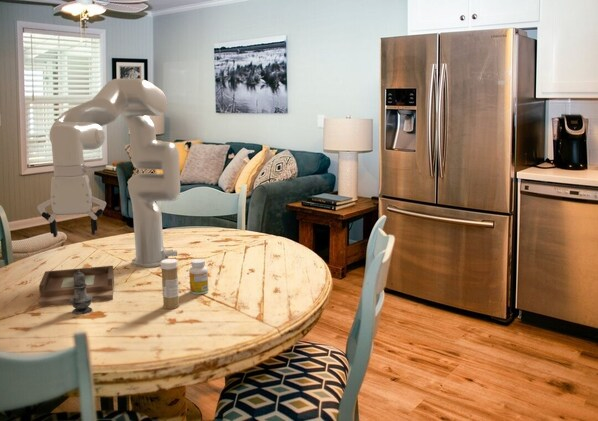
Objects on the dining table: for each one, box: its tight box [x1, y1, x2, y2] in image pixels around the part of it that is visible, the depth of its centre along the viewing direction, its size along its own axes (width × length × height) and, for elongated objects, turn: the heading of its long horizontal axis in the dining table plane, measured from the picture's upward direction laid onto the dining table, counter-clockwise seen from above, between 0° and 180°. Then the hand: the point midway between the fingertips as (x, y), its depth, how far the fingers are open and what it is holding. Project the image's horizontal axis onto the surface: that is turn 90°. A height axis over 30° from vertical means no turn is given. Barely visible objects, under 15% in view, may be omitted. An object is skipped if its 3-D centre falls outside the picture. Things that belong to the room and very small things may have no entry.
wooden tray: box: [37, 265, 115, 308], centre depth 178 cm, size 20×18×5 cm
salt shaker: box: [70, 268, 93, 316], centre depth 163 cm, size 6×6×12 cm
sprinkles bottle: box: [160, 258, 180, 310], centre depth 165 cm, size 5×5×14 cm
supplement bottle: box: [189, 258, 209, 295], centre depth 178 cm, size 5×5×10 cm
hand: (74, 234), depth 159 cm, fingers open, 9 cm apart
